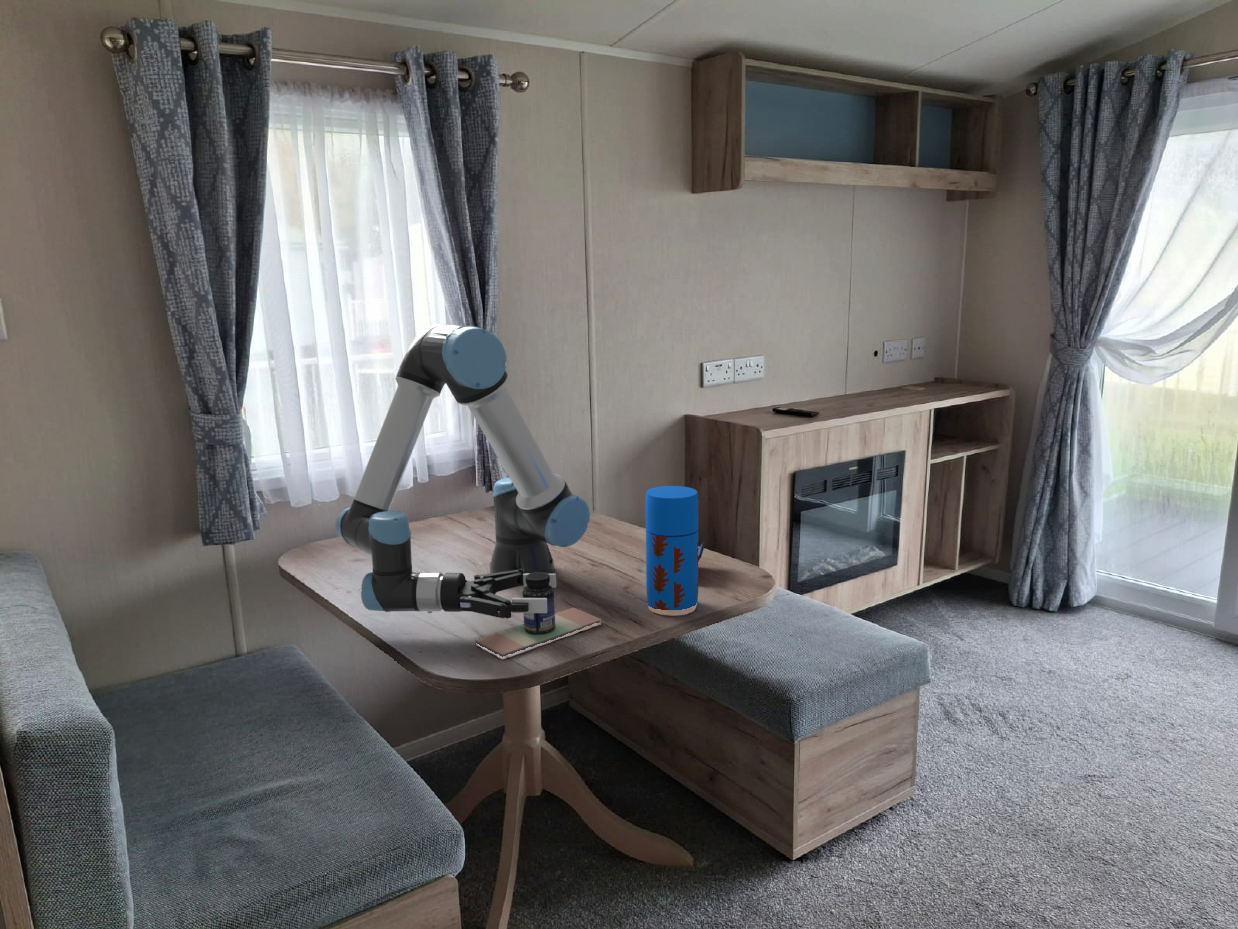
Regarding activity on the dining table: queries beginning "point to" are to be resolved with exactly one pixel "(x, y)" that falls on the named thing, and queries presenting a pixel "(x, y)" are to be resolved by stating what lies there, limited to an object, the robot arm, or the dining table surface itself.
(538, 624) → the pill bottle
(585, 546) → the dining table surface
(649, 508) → the thermos
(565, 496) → the robot arm
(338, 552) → the dining table surface
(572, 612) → the gauge plate
